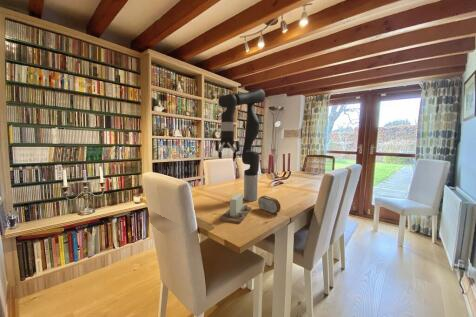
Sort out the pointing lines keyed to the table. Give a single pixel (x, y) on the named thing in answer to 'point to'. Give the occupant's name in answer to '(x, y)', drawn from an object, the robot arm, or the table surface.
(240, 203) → the cream rectangular box
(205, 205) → the table surface
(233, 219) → the hinge panel
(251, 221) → the table surface
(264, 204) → the tin
